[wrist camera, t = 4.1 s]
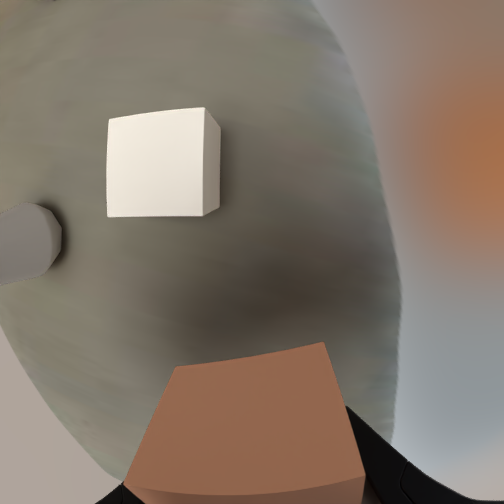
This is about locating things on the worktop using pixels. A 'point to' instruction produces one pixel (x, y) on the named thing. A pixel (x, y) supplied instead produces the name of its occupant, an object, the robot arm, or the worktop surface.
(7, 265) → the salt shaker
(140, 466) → the terracotta cube
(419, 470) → the robot arm
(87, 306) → the worktop surface
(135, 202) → the off-white cube
